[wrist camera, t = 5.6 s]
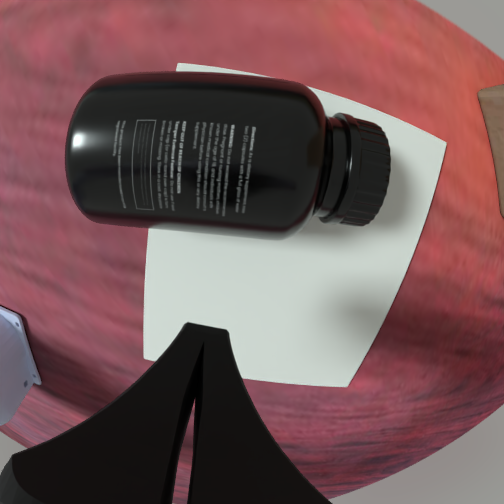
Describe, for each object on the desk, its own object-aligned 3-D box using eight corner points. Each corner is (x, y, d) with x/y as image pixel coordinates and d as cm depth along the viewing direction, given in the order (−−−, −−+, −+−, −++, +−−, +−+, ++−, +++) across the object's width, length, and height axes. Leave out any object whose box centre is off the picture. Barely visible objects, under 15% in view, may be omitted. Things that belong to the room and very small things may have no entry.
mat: (345, 383, 22) (347, 387, 22) (145, 355, 20) (143, 358, 20) (443, 142, 15) (446, 142, 14) (179, 64, 13) (178, 62, 13)
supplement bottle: (113, 231, 14) (337, 257, 15) (40, 205, 8) (409, 247, 8) (139, 117, 15) (342, 139, 16) (97, 44, 8) (397, 74, 9)
